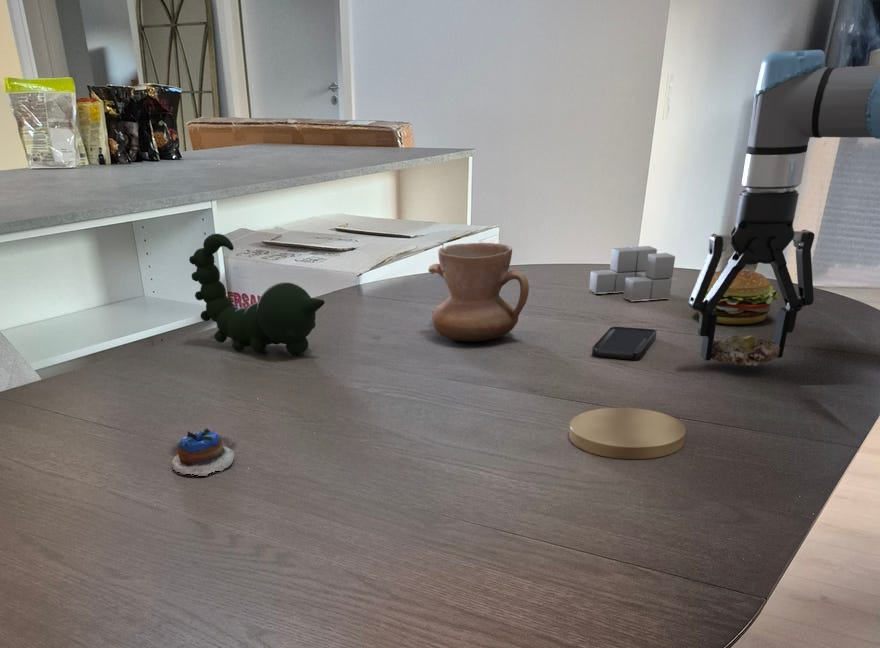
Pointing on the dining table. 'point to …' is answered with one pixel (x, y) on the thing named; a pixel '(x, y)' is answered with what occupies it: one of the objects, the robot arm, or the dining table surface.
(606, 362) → the dining table surface
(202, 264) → the toy figurine
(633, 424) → the wood disc
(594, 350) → the phone
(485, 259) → the ceramic jug
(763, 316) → the food
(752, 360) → the mineral rock
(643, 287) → the puzzle cube
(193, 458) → the dessert
